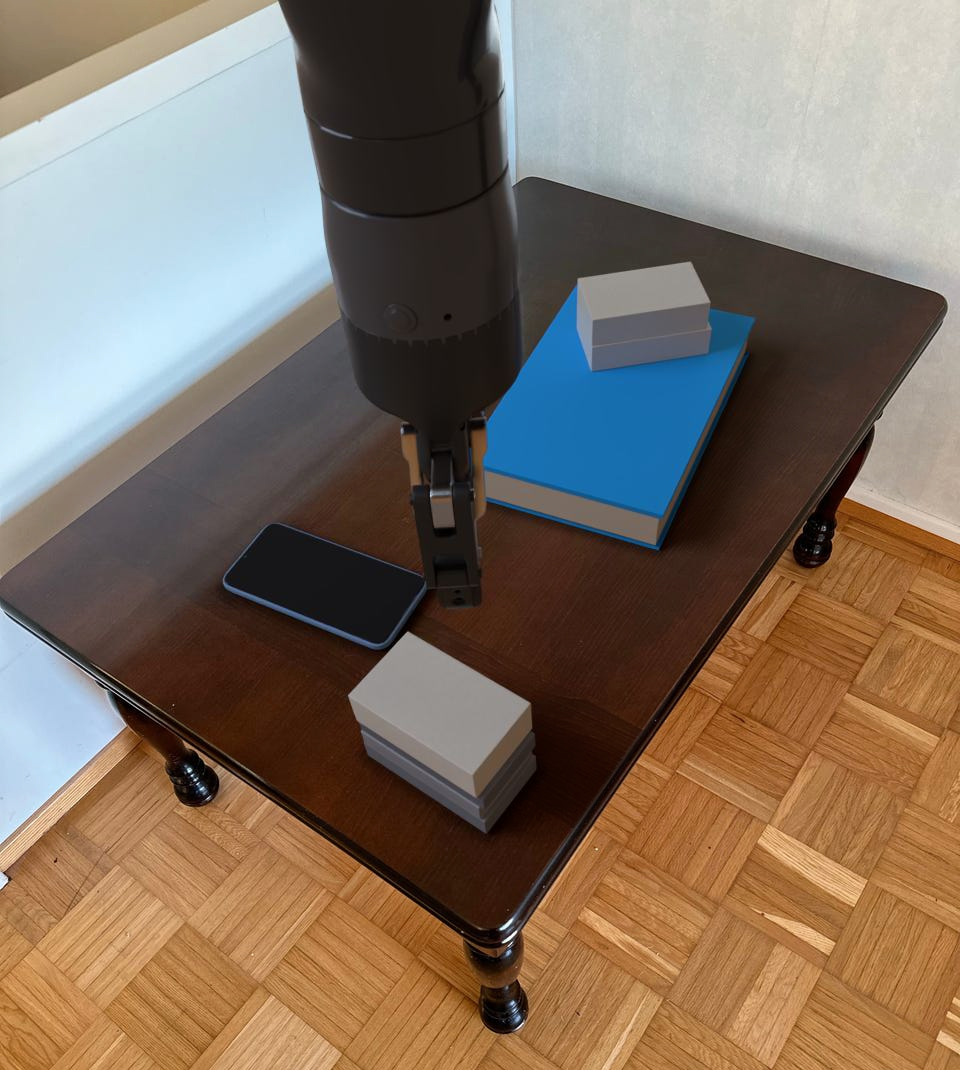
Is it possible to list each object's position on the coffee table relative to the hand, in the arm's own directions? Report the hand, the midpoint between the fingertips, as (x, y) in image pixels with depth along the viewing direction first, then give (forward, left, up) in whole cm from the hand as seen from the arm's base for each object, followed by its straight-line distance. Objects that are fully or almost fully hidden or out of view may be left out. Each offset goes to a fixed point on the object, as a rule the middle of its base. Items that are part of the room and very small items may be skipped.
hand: (460, 540), depth 51 cm
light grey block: (+3, +4, -12) cm, 13 cm away
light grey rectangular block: (-19, -31, -13) cm, 38 cm away
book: (-15, -26, -17) cm, 35 cm away
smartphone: (+10, -13, -17) cm, 24 cm away
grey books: (+3, +4, -17) cm, 18 cm away
